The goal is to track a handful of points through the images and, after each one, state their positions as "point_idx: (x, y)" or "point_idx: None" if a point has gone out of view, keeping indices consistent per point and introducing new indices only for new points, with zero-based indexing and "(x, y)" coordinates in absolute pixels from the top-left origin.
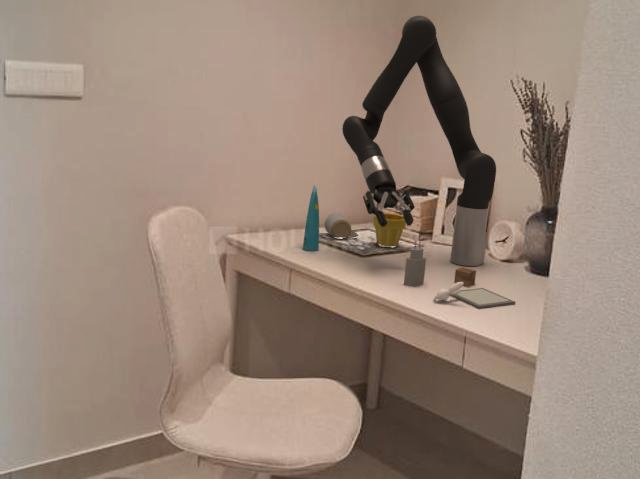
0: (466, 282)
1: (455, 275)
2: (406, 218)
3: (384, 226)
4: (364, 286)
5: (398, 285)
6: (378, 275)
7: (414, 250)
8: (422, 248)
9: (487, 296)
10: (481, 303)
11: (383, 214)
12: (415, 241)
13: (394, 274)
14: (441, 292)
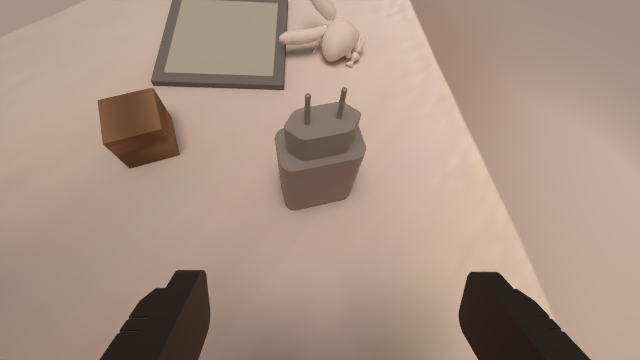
0: (167, 112)
1: (169, 138)
2: (186, 357)
3: (462, 308)
4: (486, 212)
5: (372, 190)
6: (381, 313)
7: (351, 108)
8: (292, 119)
9: (208, 30)
10: (267, 5)
11: (541, 341)
12: (346, 92)
13: (310, 307)
14: (353, 26)
